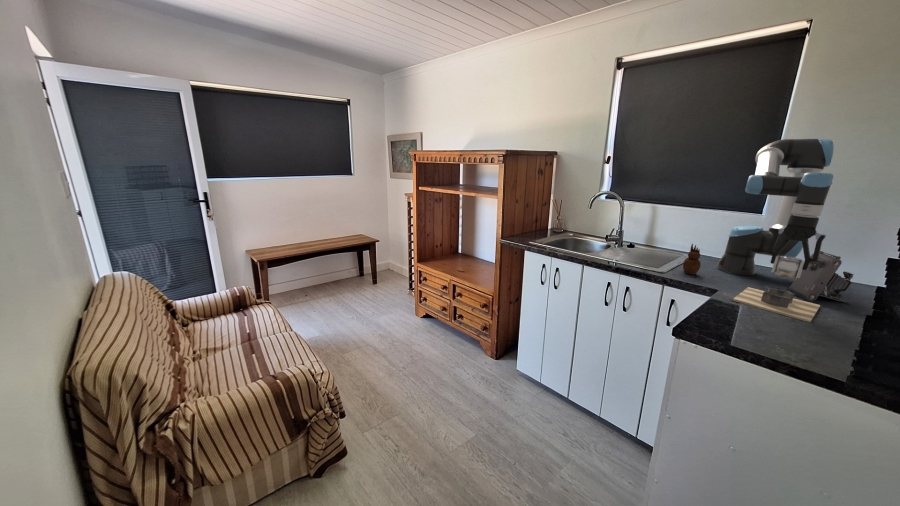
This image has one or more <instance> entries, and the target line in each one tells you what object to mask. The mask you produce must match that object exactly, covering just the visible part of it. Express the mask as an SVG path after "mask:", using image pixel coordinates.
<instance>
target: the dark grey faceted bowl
mask: <svg viewBox="0 0 900 506" xmlns="http://www.w3.org/2000/svg"><path fill="white" fill-rule="evenodd" d="M795 296H796V295H795V294H794V293H791V292H790V291H789V290H786V289H780V288H778V287H777V288H776V287H769V286H768V287H767V291H766V292H763V295H762V299H761V301H762V302H765V303H767V304H770V305H774V306H778V307H784V308H788V305H789V303H792V300H793V298H794V297H795Z"/></svg>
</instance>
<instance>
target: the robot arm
mask: <svg viewBox="0 0 900 506" xmlns="http://www.w3.org/2000/svg"><path fill="white" fill-rule="evenodd" d="M834 146H835V145H834V142H833V140H831V139H828V138H797V139H796V138H787V139H786V138H785V139H779V140H775V141H773V142H770V143H768V144H766V145H764V146H763V147H761V148H760V149H759V150H758V151H757V153H756V155H755V158H754V160H755V161H754V162H755V163H756V167H755V173H754V174H751V175H749V176H748V179H747V182H746V186H745V190H744V191H745V193H747V194H751V195H763V196H764V195H765V196H779V197H780V196H781V197H782V199H781V203H780V206H779V210H778V212H777V216H776V220H775V223H774V224H773V225H771V226H769V228H768V230H764V227H763V226H760V225H759V226H758V225H757V226H756V225H737V226H736V225H735V226H733V227H732V228H731V230H730V233H729V235H728V240H727V243H726V246H725V251H724V254H723V255H722V257H721V258H720V259H719V261H718V262H717V264H716V269H718V270H720V271H723V272H725V273H729V274H735V275H740V276H753V275H755V273H756V264H755V257H756V255H757V254H758V255H763V256H764V255H765V256H771V258H770V264H772V268H771V271H770V273H772V274H773V273H775V270H776V267H777V264H778V261H779V256H789V257H795V258H798V257H797V256H799V254H800V253H801V252H803V257H804V260H803V259H802V261H801V264H800V267H799V270H798V273H797V276H796V278H799V277H800V276H801V273H802V270H806V269H807V268H808V265H809V263H810V262H813V261H814V262H816V261H817V260H818V258H819V253H820V251H821V249H822V245H823V241H824V239H825V238H826V237H827V235H826V234H823V233H818V232H817V226H818V223H819V220H820V218H819V217H820V216H821V215H822V211H823V209H824V206H825V202H826V200H827V196H828V194H829V192H830V189H831V185H832V184H833V179H834V174H833V173H831V172H823V171H824V169H825V168H827V167H829V166H830V165H831V164H832V160H833V156H834ZM781 166H786V167H787V168H786V171H788V172H789V176H784V175H783V176H782V175H780V169H781V168H780V167H781ZM812 237H815V240H816V242H815V247H814V249H813V250H814V251H813V253H814V255H813V258H810V256H811V253H810V245H809V239H810V238H812ZM802 250H803V251H802ZM796 278H795V279H796Z"/></svg>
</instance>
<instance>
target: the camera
mask: <svg viewBox="0 0 900 506" xmlns="http://www.w3.org/2000/svg"><path fill="white" fill-rule="evenodd" d="M813 255H814V252H813V253H812V254H810V258H813ZM841 259H842V258H841V256H837V255H835V254H831V253H828V252H824V251H823V250H820V253H819V258H818V260H817V261H816V262H814V261H813V262H810V263H809V265H808V268H807V269H806V270H802V273H801V276H800V277H799V278H794V281H792V283H791V285H790V286H789V287H788V288H789V289H788V291H789V292H791V293H794V294H795V295H794V296H797V297H800V298H802V299H804V300H806V301H807V302H814V301H816V300H817V299H818V297H819V296H821V297H823V298H827V299H831V300H834V301H836V302H841V303H845V304H847V305H850V302H848V301H846V300H844V299H841V297H842V295H841V294H840V293H842V292H846V291H847V290H848V289H849V288H851V285H852V284H854V283H853V282H852V281H851V280H852V279H853V277H854V275H855V273H851V272H849V271H843V272H842V273H843V277H842V276H841V275H839V273H837V271H838V269H839V268H840V267H841V265H842V263H843V261H842V260H841ZM827 290H829V293H828V291H827ZM830 290H831V291H830Z"/></svg>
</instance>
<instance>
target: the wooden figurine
mask: <svg viewBox="0 0 900 506" xmlns="http://www.w3.org/2000/svg"><path fill="white" fill-rule="evenodd" d="M689 250H690V251H689V252H688V254H687V258H685V259H684V261H683V264H682V268H683V272H684V273H687V274H688V273H689V275H695V274H697V273H698V272H699V271H700V269H701V264H702V263H701V260H699V259H700V258H701V253H700V252H701V251H700V248H699V247H697V244H695V245H694V244H693V243H691V246H690V249H689Z"/></svg>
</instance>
